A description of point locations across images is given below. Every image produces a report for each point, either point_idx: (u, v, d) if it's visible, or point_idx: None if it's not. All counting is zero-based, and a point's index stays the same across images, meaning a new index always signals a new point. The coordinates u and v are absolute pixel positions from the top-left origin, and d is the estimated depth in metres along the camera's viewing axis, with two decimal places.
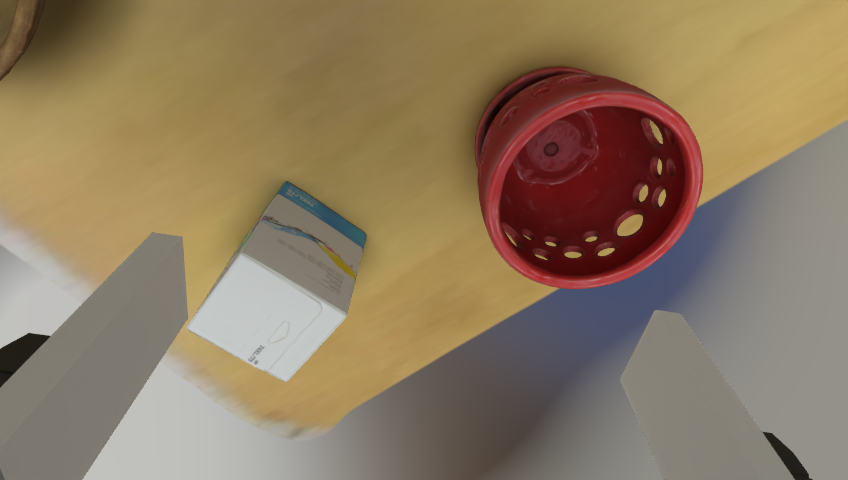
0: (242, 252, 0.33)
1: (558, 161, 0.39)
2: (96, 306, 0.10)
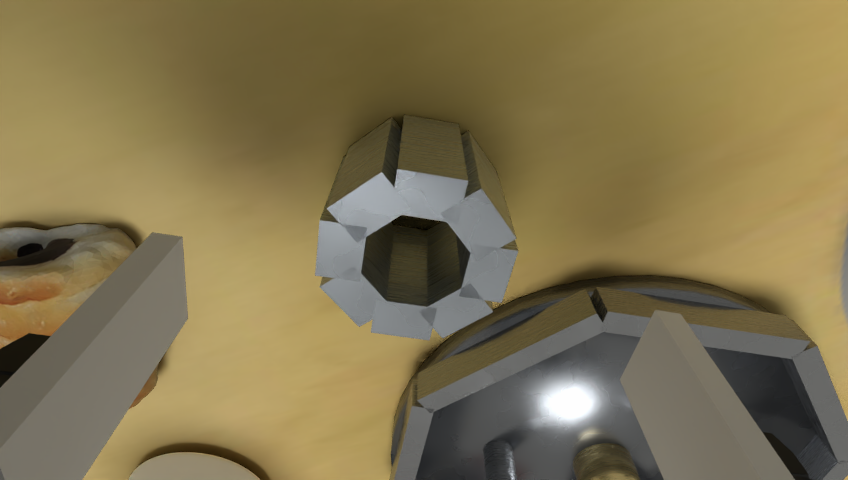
0: None
1: None
2: (96, 306, 0.10)
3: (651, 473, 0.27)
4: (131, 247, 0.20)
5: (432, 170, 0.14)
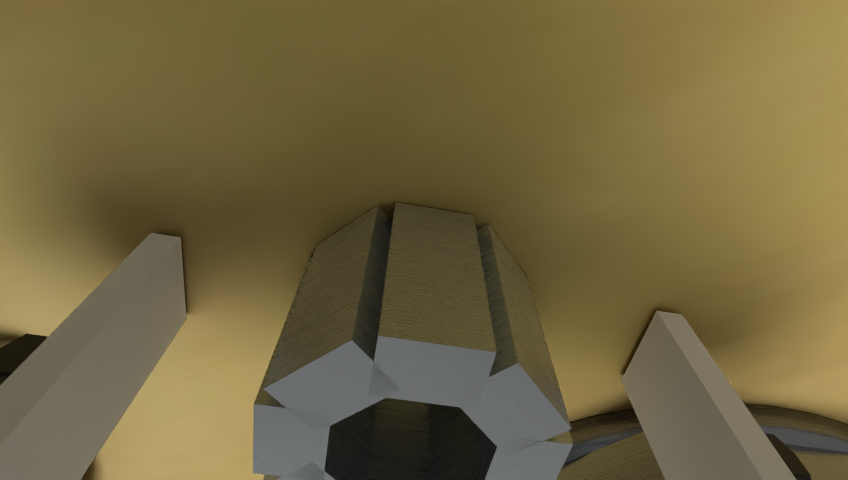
0: None
1: None
2: (94, 307, 0.10)
3: None
4: None
5: (435, 332, 0.09)
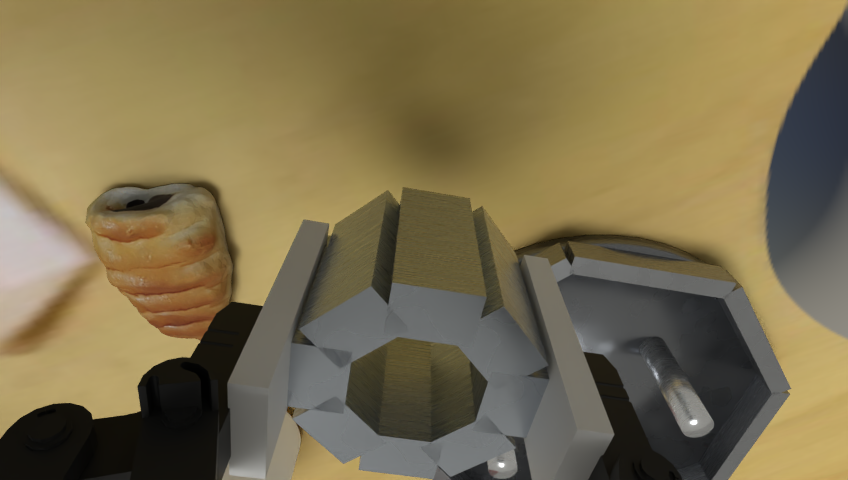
0: None
1: None
2: (288, 279, 0.12)
3: None
4: (213, 200, 0.26)
5: (438, 282, 0.11)
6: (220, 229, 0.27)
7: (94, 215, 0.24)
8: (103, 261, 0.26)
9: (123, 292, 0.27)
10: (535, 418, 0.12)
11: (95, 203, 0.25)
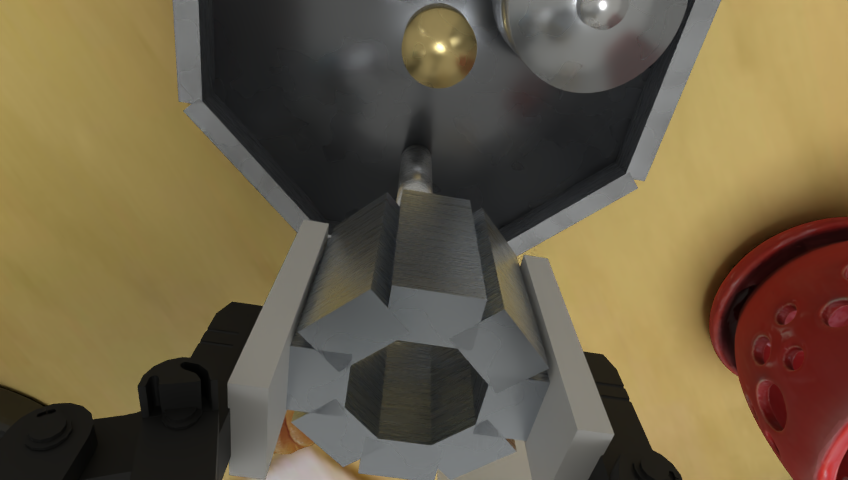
0: None
1: None
2: (288, 279, 0.12)
3: None
4: None
5: (438, 285, 0.11)
6: None
7: None
8: None
9: (305, 446, 0.34)
10: None
11: None
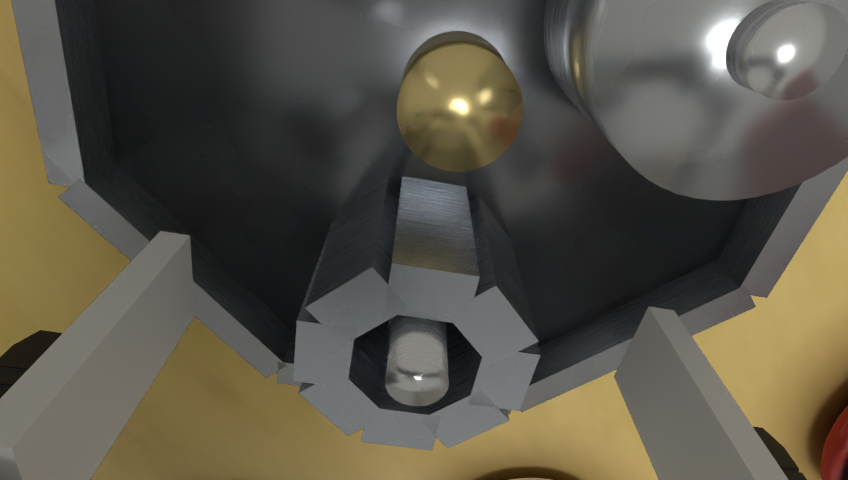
0: None
1: None
2: (106, 303, 0.11)
3: None
4: None
5: (434, 263, 0.12)
6: None
7: None
8: None
9: None
10: None
11: None
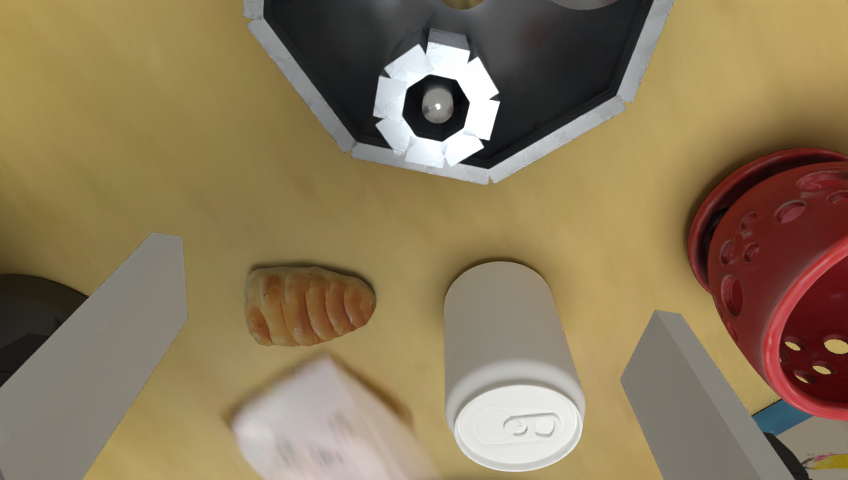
0: None
1: None
2: (96, 306, 0.10)
3: None
4: (254, 270, 0.37)
5: (448, 45, 0.24)
6: (277, 270, 0.37)
7: None
8: (292, 345, 0.38)
9: (323, 339, 0.38)
10: None
11: None
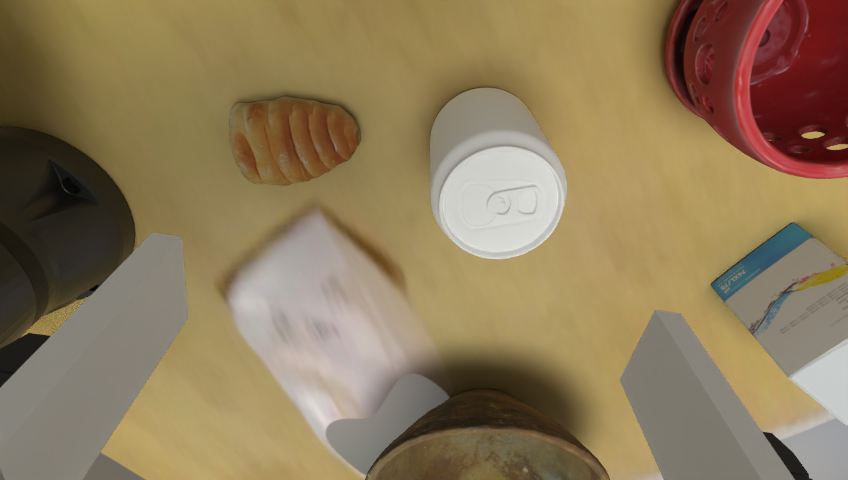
0: (788, 376, 0.36)
1: (779, 26, 0.33)
2: (96, 306, 0.10)
3: None
4: (238, 103, 0.37)
5: None
6: (260, 101, 0.37)
7: (244, 175, 0.38)
8: (280, 178, 0.38)
9: (310, 173, 0.39)
10: None
11: None
